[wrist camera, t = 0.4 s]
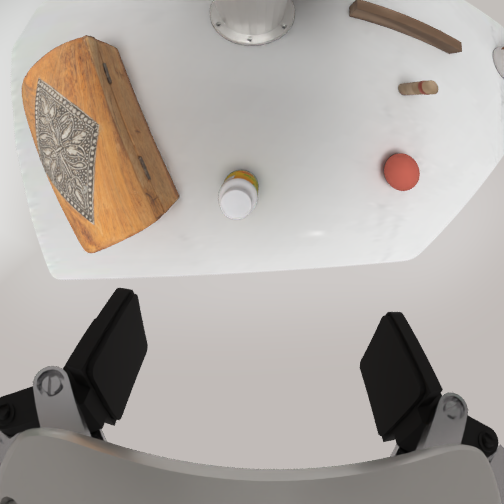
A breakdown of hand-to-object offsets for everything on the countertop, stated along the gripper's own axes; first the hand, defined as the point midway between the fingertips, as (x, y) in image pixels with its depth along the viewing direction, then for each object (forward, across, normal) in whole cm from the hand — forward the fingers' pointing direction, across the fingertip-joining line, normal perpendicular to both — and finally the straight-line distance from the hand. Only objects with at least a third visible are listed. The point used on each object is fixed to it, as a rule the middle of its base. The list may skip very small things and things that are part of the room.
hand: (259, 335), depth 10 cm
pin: (+35, -22, -18) cm, 45 cm away
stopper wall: (+35, -21, -30) cm, 50 cm away
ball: (+32, -22, -4) cm, 39 cm away
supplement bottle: (+35, +3, +3) cm, 36 cm away
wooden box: (+35, +26, -4) cm, 44 cm away
